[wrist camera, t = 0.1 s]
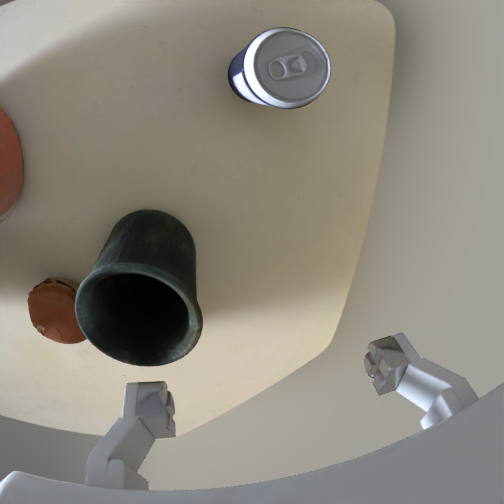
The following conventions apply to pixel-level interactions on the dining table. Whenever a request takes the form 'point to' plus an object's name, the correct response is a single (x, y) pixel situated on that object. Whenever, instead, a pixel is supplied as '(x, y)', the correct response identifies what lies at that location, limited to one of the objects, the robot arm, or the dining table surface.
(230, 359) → the dining table surface
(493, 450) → the robot arm
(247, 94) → the beverage can
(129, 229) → the mug
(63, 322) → the burger
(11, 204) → the terracotta bowl
